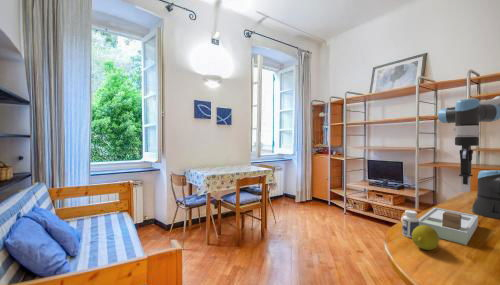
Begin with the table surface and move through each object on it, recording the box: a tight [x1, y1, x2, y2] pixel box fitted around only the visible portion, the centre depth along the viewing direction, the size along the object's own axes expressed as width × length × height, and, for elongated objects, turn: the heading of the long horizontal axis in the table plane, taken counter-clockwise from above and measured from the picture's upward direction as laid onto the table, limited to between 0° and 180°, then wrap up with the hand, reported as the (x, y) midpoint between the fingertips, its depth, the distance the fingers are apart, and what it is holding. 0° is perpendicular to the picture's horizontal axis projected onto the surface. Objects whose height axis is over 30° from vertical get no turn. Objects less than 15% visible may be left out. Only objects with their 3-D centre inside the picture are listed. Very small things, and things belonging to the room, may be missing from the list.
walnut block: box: [442, 212, 461, 230], centre depth 97 cm, size 5×5×5 cm
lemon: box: [411, 225, 440, 251], centre depth 87 cm, size 11×8×8 cm
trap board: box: [418, 207, 479, 246], centre depth 106 cm, size 30×16×5 cm, turn 131°
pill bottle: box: [401, 209, 419, 239], centre depth 97 cm, size 5×5×10 cm
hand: (465, 191), depth 104 cm, fingers closed
